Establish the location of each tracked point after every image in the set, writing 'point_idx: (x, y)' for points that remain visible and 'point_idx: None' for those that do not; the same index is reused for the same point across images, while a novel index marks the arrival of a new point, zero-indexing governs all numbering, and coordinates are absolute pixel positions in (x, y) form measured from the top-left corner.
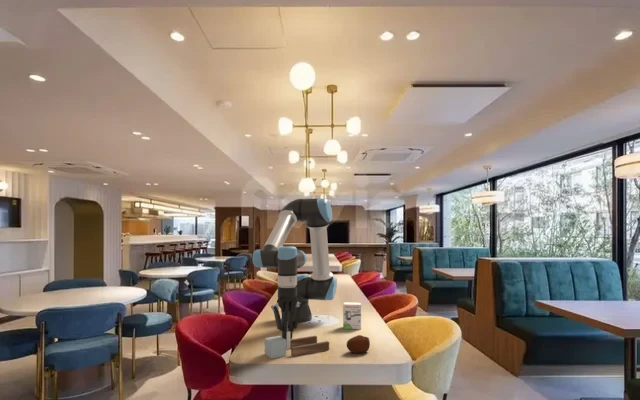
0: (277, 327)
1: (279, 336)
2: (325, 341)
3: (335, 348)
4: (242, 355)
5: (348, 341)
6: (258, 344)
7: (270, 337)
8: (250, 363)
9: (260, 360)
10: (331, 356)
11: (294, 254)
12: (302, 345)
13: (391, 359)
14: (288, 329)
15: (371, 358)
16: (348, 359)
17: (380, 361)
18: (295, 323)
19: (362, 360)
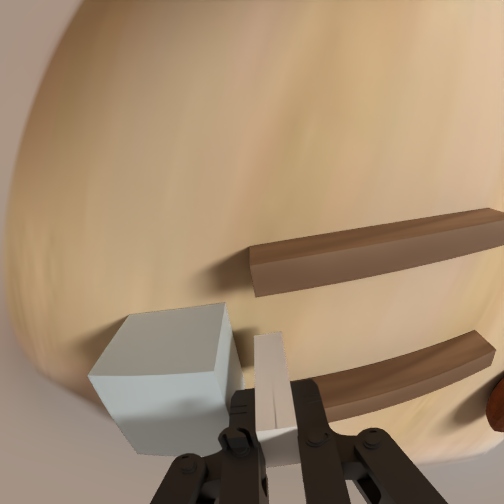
0: (170, 477)
1: (211, 388)
2: (488, 354)
3: (497, 329)
4: (27, 286)
5: (502, 421)
6: (121, 83)
7: (128, 382)
8: (74, 395)
9: None
10: (422, 416)
11: None
12: (357, 402)
13: (499, 432)
14: (299, 452)
15: (482, 429)
16: (439, 439)
17: (476, 446)
18: (372, 500)
19: (457, 443)
